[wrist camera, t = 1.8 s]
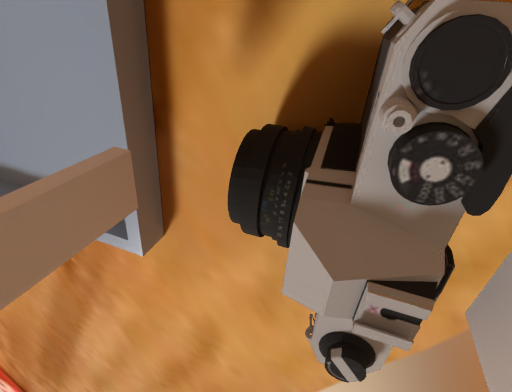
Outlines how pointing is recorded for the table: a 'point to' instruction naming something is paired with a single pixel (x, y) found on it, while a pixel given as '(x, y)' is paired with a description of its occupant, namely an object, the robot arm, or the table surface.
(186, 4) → the table surface
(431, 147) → the camera
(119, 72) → the tray
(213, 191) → the table surface
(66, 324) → the table surface
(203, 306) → the table surface
